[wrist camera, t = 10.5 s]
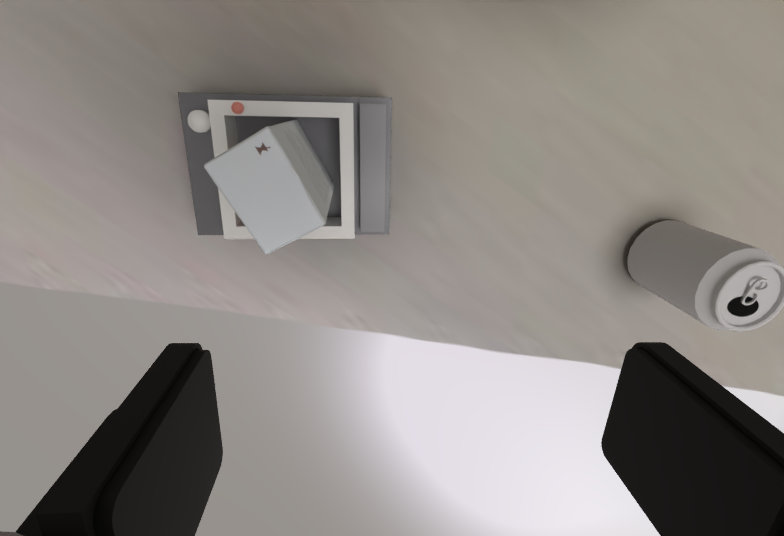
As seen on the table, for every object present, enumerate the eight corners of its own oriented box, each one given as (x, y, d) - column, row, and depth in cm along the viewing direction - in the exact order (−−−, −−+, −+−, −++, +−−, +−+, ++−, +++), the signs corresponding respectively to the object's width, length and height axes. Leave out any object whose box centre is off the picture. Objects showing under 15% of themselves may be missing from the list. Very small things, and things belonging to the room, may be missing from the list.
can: (611, 278, 46) (694, 333, 35) (638, 211, 43) (738, 246, 32) (672, 289, 47) (772, 345, 36) (702, 224, 45) (819, 263, 33)
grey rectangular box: (387, 99, 38) (395, 96, 30) (385, 220, 41) (392, 245, 34) (200, 94, 36) (159, 90, 29) (216, 220, 40) (183, 246, 32)
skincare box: (250, 145, 33) (198, 162, 22) (297, 118, 33) (268, 122, 22) (292, 211, 35) (264, 258, 24) (337, 187, 35) (329, 223, 24)
